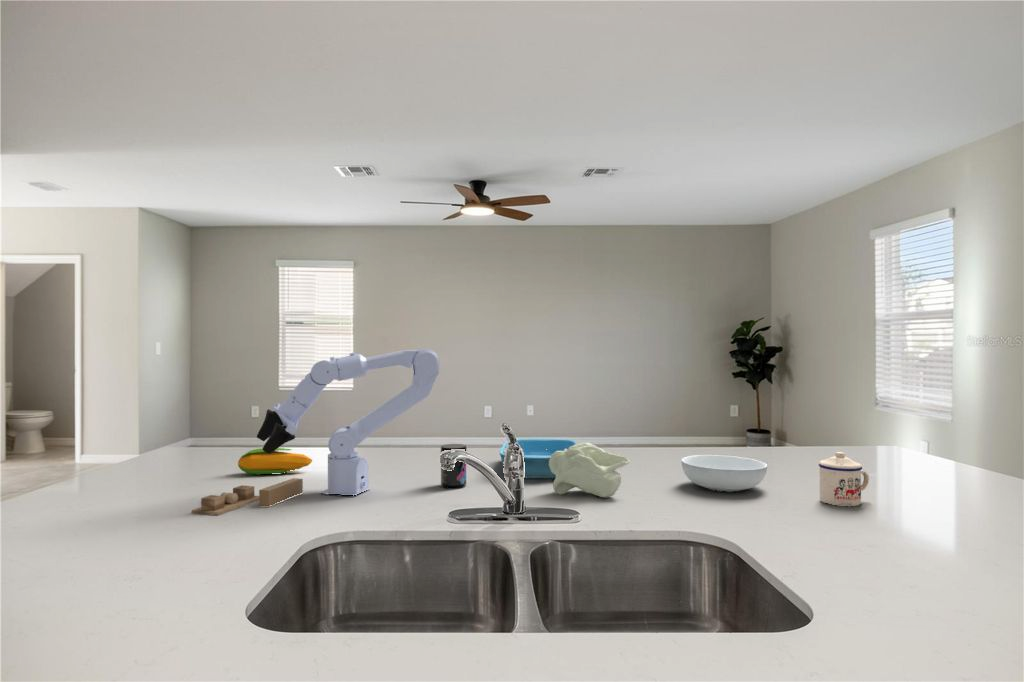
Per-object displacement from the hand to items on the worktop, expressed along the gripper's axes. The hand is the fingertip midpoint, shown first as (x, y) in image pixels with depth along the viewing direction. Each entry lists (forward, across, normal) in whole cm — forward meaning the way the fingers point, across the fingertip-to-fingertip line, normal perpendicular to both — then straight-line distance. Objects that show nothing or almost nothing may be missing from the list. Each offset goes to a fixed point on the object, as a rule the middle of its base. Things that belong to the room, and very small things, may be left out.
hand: (262, 445), depth 158 cm
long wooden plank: (+6, +10, +8) cm, 14 cm away
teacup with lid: (-75, +78, +88) cm, 139 cm away
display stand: (+13, +9, -1) cm, 16 cm away
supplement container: (-20, +18, +40) cm, 48 cm away
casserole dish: (-36, +11, +67) cm, 77 cm away
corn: (+10, -21, +18) cm, 30 cm away
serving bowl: (-62, +54, +81) cm, 116 cm away
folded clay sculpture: (-40, +42, +56) cm, 81 cm away
